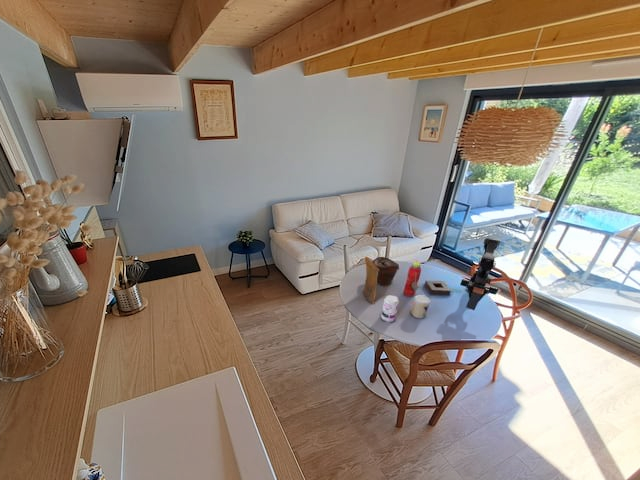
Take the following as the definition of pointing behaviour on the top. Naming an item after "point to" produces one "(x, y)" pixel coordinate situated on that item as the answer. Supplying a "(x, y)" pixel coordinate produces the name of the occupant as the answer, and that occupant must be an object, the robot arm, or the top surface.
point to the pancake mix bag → (370, 280)
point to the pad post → (474, 298)
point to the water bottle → (412, 279)
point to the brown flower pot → (385, 270)
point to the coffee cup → (420, 306)
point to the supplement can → (389, 308)
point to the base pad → (437, 288)
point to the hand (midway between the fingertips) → (474, 299)
